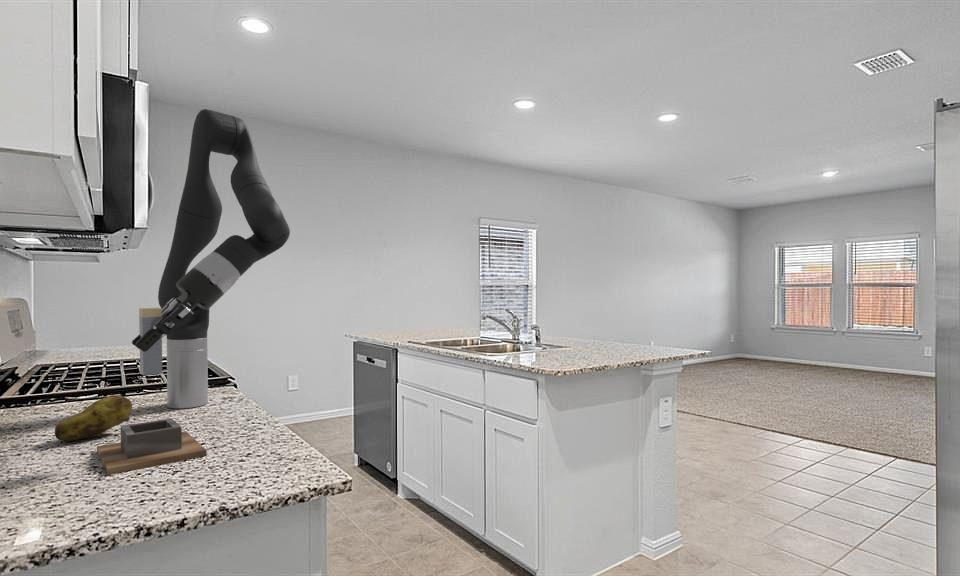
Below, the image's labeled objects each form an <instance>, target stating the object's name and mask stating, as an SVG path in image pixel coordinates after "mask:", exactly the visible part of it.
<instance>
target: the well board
mask: <svg viewBox="0 0 960 576" xmlns="http://www.w3.org/2000/svg"><path fill="white" fill-rule="evenodd" d="M96 452H97V454H98V457H99V460H100V461H101V464H102V466H103V468H104V470H105V472H106V474H107V475H109V476H110V475H113V474H119V473H123V472H128V471H134V470H138V469H145V468H149V467H154V466H160V465H164V464H170V463H175V462H179V461H185V460H190V459H195V458H200V457H201V456H202V457H206V455H208V452H207V449H206V448H205V447H204V446H203V445H202V444H201V443H199V442H198V441H197V440H196V439H195V438H194V436H192V435H191V434H189V432H188V431H182V426H180V424H178V422H176V421H175V420H174V419H173V418H166V419H159V420H153V421H146V422H139V423H131V424H125V425H120V442H114V443H109V444H104V445H97V446H96Z"/></svg>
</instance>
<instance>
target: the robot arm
mask: <svg viewBox="0 0 960 576" xmlns="http://www.w3.org/2000/svg"><path fill="white" fill-rule="evenodd" d="M192 126H193V128H192V134H191V141H190V147H189V158H188V165H187V170H186V171H187V172H186V177H185V182H184V187H183V191H182V194H181V199H180V202H179V205H178V210H177V215H176V219H175V220H176V221H175V228H174V232H173V236H172V237H173V238H172V242H171V246H170V250H169V254H168V256H167V260H166V263H165V266H164V270H163V272H162V276H161V279H160V283H159V285H158V293H157V301H158V305H159V308H161V311H162V314H161V315H160V320H159V321H158V322H157V323H156V324H154V325H153V327H152V329H153V330H152V329H150V330H149V331H148V332H147V333H146V334H145V335H144V336H143V337H142V338H141V339H140V333H139V334H138V335H137V336H136V337H135V338H134V339H133V340H132V341H131V344H132V345H133V346H134V347H136V348H137V349H138V350H140V349H141V350H142V351H144V352H146V351H147V350H148V349H149V348H151V347H152V346H153V345H154V344H155V343H156V342H157V341H158V340H159V339H160V338H161V336H162V338H164V337H166V397H167V398H166V399H167V400H166V402H167V404H166V406H167V408H169V409H189V408H190V409H191V408H196V407H201V406H204V405H207V404H208V403H209V399H208V398H209V396H208V395H209V391H208V390H209V381H208V379H209V372H208V370H209V369H208V368H209V367H208V363H209V362H208V357H209V356H208V329H209V325H210V309H211V307H212V306H214V304H216V303H217V302H218V301H219V300H220V299H221V298H222V297H223V296H224V295H225V294H226V293H227V292H228V291H229V290H230V289H231V288H232V287H233V286H234V285H235V284H236V282H237V281H238V280H239V279H240V278H241V277H242V276H243V275H244V274H245V273H246V272H247V271H248V270H249V269H250V268H252V266H253V265H254V264H255V263H257V262H258V261H260V260H262V259H264V258H266V257H267V256H269V255H271V254H273V253H274V252H276V251H278V250H280V249H281V248H282V247H283V246H284V245H285V244H286V243H287V241H288V240H289V238H290V234H291V231H290V230H291V229H290V226H289V224H288V222H287V220H286V218H285V215H284V213H283V211H282V209H281V207H280V206H279V204H278V202H277V201H276V199H275V198H274V196H273V194H272V190H271V189H270V187H269V185H268V184H267V181H266V180H265V177H264V175H263V174H262V172H261V169H260V166H259V161H258V159H257V154H256V151H255V147H254V143H253V140H252V136H251V132H250V130H249V127H248V126H247V124H246V123H245V121H244V120H243V119H242V118H240V117H237V116H234V115H231V114H226V113H223V112H219V111H216V110H211V109H207V108H204V109H201V110H200V111H198V113H197V115H196V116H195V119H194V123H193V125H192ZM211 152H212V153H217V154H221V155H226V156H232V157H234V158H235V160H236V161H237V162H236V164H235V165H234V167H233V169H232V171H231V175H230V185H231V188H232V191H233V194H234V195H235V197H236V199H237V200H236V201H237V202H238V204H239V206H240V207H241V210H242V213H243V216H244V217H245V220H246V222H247V225H248V226H249V228H250V230H251V231H252V233H253V234H252V235H251V236H250V237H248V238H244V237H243V236H241V235H238V234H237V235H236V234H233V235H231V236H229V237H228V238H226V239H225V240H224V241H223V242H222V243H221V244H220V245H218V246H217V247H216V248H215V249H214V250H213V251H212V252H210V253H209V254H208V255H206V256H205V257H204V258H202V259H201V260H199V262H198V263H197V264H195V265H194V266H192V268H191V269H189V271H188V268H189V267H190V265H191V263H192V262H193V261H194V260H195V258H196V257H197V256H198V255H199V254H200V253H201V252H202V251H203V250H204V249H205V248H206V247H207V246H208V245H209V244H210V243H211V242H212V241H213V239H214V238H215V237H216V235H217V234H218V230H219V226H220V220H221V217H222V213H223V204H222V202H221V201H222V200H221V199H220V198H221V197H220V196H219V194H218V191H217V189H216V187H215V185H214V182H213V180H212V179H213V178H212V176H211V172H210V159H211Z"/></svg>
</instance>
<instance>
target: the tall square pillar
mask: <svg viewBox="0 0 960 576" xmlns="http://www.w3.org/2000/svg"><path fill="white" fill-rule="evenodd" d="M161 314H162V311H161V307H148V308H147V307H145V308H144V307H141V308H140V307H139V309H138V319H139V323H138V325H139V326H138V327H139V328H138V329H139V334H140V339H141V338H142V337H143V336H144V335H145V334H146V333H147V332H148V331H149V330H150V329H152V327H153V325H154V324H156V323H157V322H158V321H159V320H160V315H161ZM152 330H153V329H152ZM139 374H141V375H142V376H144V377H145V376H151V375H152V376H153V375H162V374H163V337H162V336H161V338H160V339H159V340H158V341H157V342H156V343H155V344H154V345H153V346H152V347H151V348H149V349H148V350H147V351H146V352H144V351H142V350H141V349H139Z"/></svg>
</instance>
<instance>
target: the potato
mask: <svg viewBox="0 0 960 576" xmlns="http://www.w3.org/2000/svg"><path fill="white" fill-rule="evenodd" d="M132 409H133V403H132V401H131V400H130V399H129V398H128V397H125V396H123V395H117V394H116V395H114V394H113V395H109V396H105V397H102V398H100V399H98V400H96V401H94V402H93V403H91V404H90V405H89V406H87V407H85V409H84V410H82V411H81V412H78V413H75V414H73V415H71V416H69V417H67V418H65V419H64V420H62V421H60V422H59V423H57V425H56V426H55V427H54V436H55V438H56V439H58V440H59V441H62V442H64V443H65V442H66V443H68V442H73V441H77V440H83V439H84V440H85V439H88V438H93V437H96V436H99V435H101V434H103V433H106V432H107V431H109V430H110V429H112V428H114V427H117V426H118V425H121V424H122V423H124V422H129V421H130V415H131V413H132Z"/></svg>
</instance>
